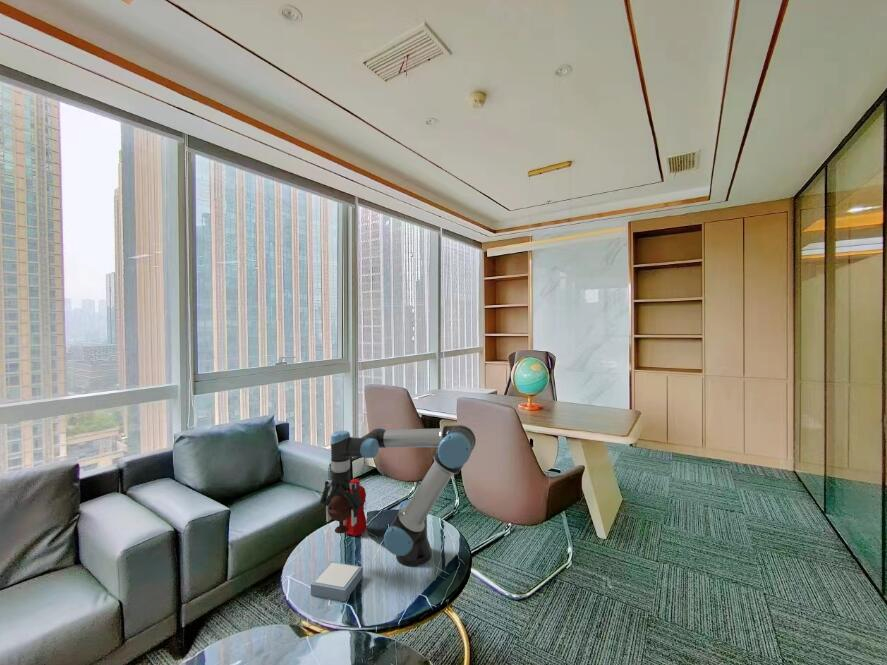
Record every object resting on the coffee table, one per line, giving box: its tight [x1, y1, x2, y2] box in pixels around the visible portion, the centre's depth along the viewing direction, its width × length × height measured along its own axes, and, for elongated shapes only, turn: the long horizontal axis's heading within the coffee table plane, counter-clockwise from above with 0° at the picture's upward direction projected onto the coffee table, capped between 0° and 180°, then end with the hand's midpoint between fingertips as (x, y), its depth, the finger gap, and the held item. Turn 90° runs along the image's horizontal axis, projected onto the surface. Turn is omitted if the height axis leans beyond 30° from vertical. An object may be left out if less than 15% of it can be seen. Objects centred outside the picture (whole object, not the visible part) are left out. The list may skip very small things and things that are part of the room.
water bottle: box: [343, 478, 368, 537], centre depth 184 cm, size 9×11×25 cm
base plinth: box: [310, 561, 364, 602], centre depth 146 cm, size 14×14×4 cm
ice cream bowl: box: [327, 493, 353, 534], centre depth 158 cm, size 11×11×15 cm
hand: (341, 522), depth 158 cm, fingers closed on ice cream bowl, 11 cm apart
